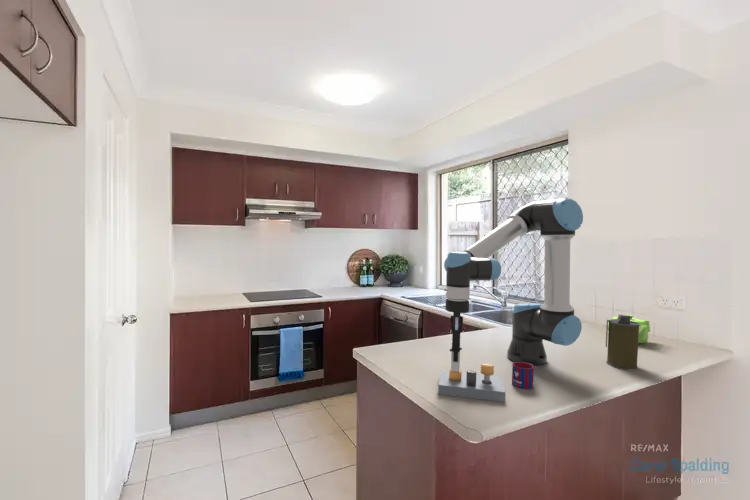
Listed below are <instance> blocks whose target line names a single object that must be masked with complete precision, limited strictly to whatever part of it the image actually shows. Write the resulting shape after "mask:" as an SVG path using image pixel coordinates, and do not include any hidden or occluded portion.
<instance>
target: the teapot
mask: <svg viewBox="0 0 750 500" xmlns="http://www.w3.org/2000/svg"><path fill="white" fill-rule="evenodd" d="M628 315H629V316H631V317H632V318H630V321H633V322H637V323H639V324H640V326H639V336H638V344H639V343H641V344H646V343H647V342H648V341H649V333H650V332H651V327H650V325H651V324H650V320H647V319H639V318H637V317H633V316H634V315H632V314H628ZM617 318H618V316H613V317H612V319H617ZM608 320H611V318H610V319H609V318H608ZM608 332H609V322H608Z"/></svg>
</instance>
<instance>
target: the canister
mask: <svg viewBox="0 0 750 500" xmlns="http://www.w3.org/2000/svg"><path fill="white" fill-rule="evenodd" d="M629 315H630V314H618V316H617V317H618V318H617V319H613V318H612V319H611V318H610V319H611V320H609V319H606V331H605V347H606V348H607V355H606V356H607V358H606V362H605V363H606V364H607V365H608V366H610V365H611V367H613V366H614V367H613V368H616V367H617V369H620V368H622V370H627V369H635V370H637V369H638V368H639V367H638V352H639V343H638V336H639V326H640V324H639V323H637V322H633V321H630V318H632V317H631V316H629ZM608 322H609V331H608Z"/></svg>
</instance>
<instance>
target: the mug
mask: <svg viewBox="0 0 750 500" xmlns="http://www.w3.org/2000/svg"><path fill="white" fill-rule="evenodd" d="M511 367H512V368H511V369H512V372H511V384H512V385H513V386H514V387H515V388H518V389H521V390H522V389H524V390H531V389H532V388H533V387H534V374H535V373H534V372H535V365H533V364H529V363H524V362H515V361H513V363H512V366H511Z"/></svg>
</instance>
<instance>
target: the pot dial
mask: <svg viewBox="0 0 750 500" xmlns="http://www.w3.org/2000/svg"><path fill="white" fill-rule="evenodd" d="M466 373H467V379H466V385H468V386H471V387H474V386H476V374H477V372H476V371H474V370H466Z"/></svg>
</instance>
